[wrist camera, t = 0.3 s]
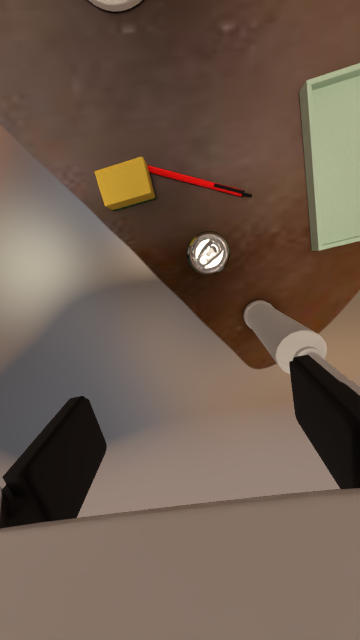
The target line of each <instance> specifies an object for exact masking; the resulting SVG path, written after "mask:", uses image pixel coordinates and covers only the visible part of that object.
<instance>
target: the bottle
mask: <svg viewBox="0 0 360 640" xmlns="http://www.w3.org/2000/svg"><path fill="white" fill-rule="evenodd" d="M243 317H244V321H245V323H246V324H247V325H248V327H249V328H251V329H252V330H253V331H254V332H255V334H256V335H257V337H258V338H259V339H260V341H261V342H262V343H263V345H264V346H265V348H266V349H267V350H268V352H269V353H270V354H271V356H272V357H273V359H274V360H275V361H276V363H277V364H278V365H279V366H280V368H281V369H282V370H283V371H284V372H287V373H289V374H290V367H289V362H290V361H293V358H294V357H297V356H303V355H309V356H311V357H312V358H313V359H314V360H315V361H316V362H318V363H319V364H320V365H321V366H322V367H324V368H325V369H326V370H327V371H328V372H329V373H331V374H332V375H333V376H334V377H335V378H336V379H338V380H339V381H340V382H343V383H345V384H346V385H348V386H349V387H350V388H351V389H352V390H354V391H355V392H356V393H357V394H358V395H360V387H359V386H358V385H356V384H355V383H354V382H353V381H351V380H349V379H348V378H346V377H345V376H344V375H343V374H341V373H340V372H339V371H338V370H336V369H335V368H334V367H333V366H332V365H330V364H329V363H328V362H327V361H325V357H326V353H327V348H326V343H325V341H324V340H323V339H322V338H321V336H320V335H319V334H317V333H315V332H314V331H312V330H310V329H308V328H307V327H305V326H303V325H302V324H300V323H298V322H297V321H295V320H293V319H291V318H290V317H288V316H286V315H285V314H283V313H281V312H280V311H278V310H276V309H274V308H273V306H272V305H271V304H269V303H267V302H265V301H262V300H256V301H253V302H251V303H249V304H248V305H247V306H246V308H245V310H244V314H243Z"/></svg>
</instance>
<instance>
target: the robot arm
mask: <svg viewBox="0 0 360 640" xmlns="http://www.w3.org/2000/svg"><path fill="white" fill-rule="evenodd" d="M89 1H90V2H91V3H92V4H94V5H95V6H97V7H99V8H101V9H103V10H108V11H113V12H115V11H124V10H127V9H130V8H132V7H134V6H135V5H137V4H139V3H140V2H141V1H142V0H89ZM289 367H290V375H291V383H292V391H293V400H294V409H295V415H296V418H297V421H298V423H299V424H300V426H301V427H302V429H303V431H304V432H305V434H306V435H307V437H308V438H309V440H310V442H311V443H312V445H313V446H314V448H315V450H316V451H317V453H318V454H319V456H320V457H321V459H322V461H323V462H324V464H325V465H326V467H327V468H328V470H329V472H330V473H331V475H332V476H333V478H334V479H335V481H336V483H337V484H338V486H339V487H340V489H336V490H325V491H313V492H302V493H292V494H281V495H272V496H263V497H254V498H244V499H235V500H226V501H218V502H209V503H199V504H191V505H183V506H173V507H165V508H157V509H148V510H140V511H131V512H122V513H115V514H106V515H99V516H90V517H82V518H77V516H78V513H79V511H80V509H81V506H82V504H83V502H84V500H85V497H86V495H87V493H88V491H89V488H90V486H91V484H92V482H93V479H94V477H95V475H96V473H97V470H98V468H99V466H100V463H101V461H102V459H103V457H104V455H105V452H106V442H105V439H104V437H103V434H102V432H101V429H100V427H99V424H98V422H97V419H96V417H95V414H94V412H93V409H92V407H91V404H90V401H89V400H88V399H86V398H85V397H83V396H80V397H75V398H71V399H69V400H68V401H67V403H66V404H65V405H64V406H63V407H62V408H61V410H60V411H59V412H58V413H57V414H56V415H55V417H54V418H53V419H52V420H51V421H50V422H49V424H48V425H47V426H46V427H45V428H44V429H43V431H42V432H41V433H40V434H39V435H38V436H37V438H36V439H35V440H34V441H33V442H32V443H31V445H30V446H29V447H28V448H27V449H26V450H25V452H24V453H23V454H22V455H21V456H20V457H19V459H18V460H17V461H16V462H15V463H14V464H13V466H12V467H11V468H10V469H9V470H8V471H7V473H6V474H5V475H4V476H3V479H4V480H5V482H6V486H5V487H4V488H3V489H2V488H1V487H0V640H360V395H358V394H357V393H356V392H355V391H354V390H352V389H351V388H350V387H349V386H348V385H346V384H345V383H343V382H340V381H339V380H338V379H336V378H335V377H334V376H333V375H332V374H331V373H329V372H328V371H327V370H326V369H325V368H324V367H322V366H321V365H320V364H319V363H318V362H316V361H315V360H314V359H313V358H312V357H311V356H309V355H303V356H297V357H294V358H293V361H290V362H289Z"/></svg>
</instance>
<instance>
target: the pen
mask: <svg viewBox="0 0 360 640" xmlns="http://www.w3.org/2000/svg"><path fill="white" fill-rule="evenodd" d="M147 166H148V170H149V173H153V174H157V175H160V176H164V177H168V178H172V179H176V180H179V181H183V182H187V183H191V184H195V185H199V186H202V187H206V188H210V189H214V190H218V191H221V192H225V193H229V194H233V195H237V196H241V197H243V195H244V196H248V197H252V194H248V193H244V192H245V191H244V190H240V189H237V188H233V187H229V186H225V185H221V184H218V183H214V182H210V181H206V180H202V179H199V178H195V177H191V176H187V175H183V174H179V173H176V172H172V171H168V170H164V169H160V168H157V167H153V166H149V165H147Z"/></svg>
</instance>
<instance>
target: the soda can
mask: <svg viewBox="0 0 360 640" xmlns="http://www.w3.org/2000/svg"><path fill="white" fill-rule="evenodd" d="M229 257H230V248H229V245H228V242H227V241H226V239H225V238H224V237H223V236H222V235H220V234H219V233H216V232H213V231H205V232H202V233H200V234H198V235H196V236H195V237H194V238H193V239H192V240H191V242H190V244H189V246H188V249H187V259H188V262H189V265H190V266H191V268H192V269H193V270H194V271H195V272H197V273H198V274H201V275H205V276H210V275H215V274H217V273H219V272H220V271H222V270H223V269H224V268H225V266H226V265H227V263H228V261H229Z"/></svg>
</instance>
